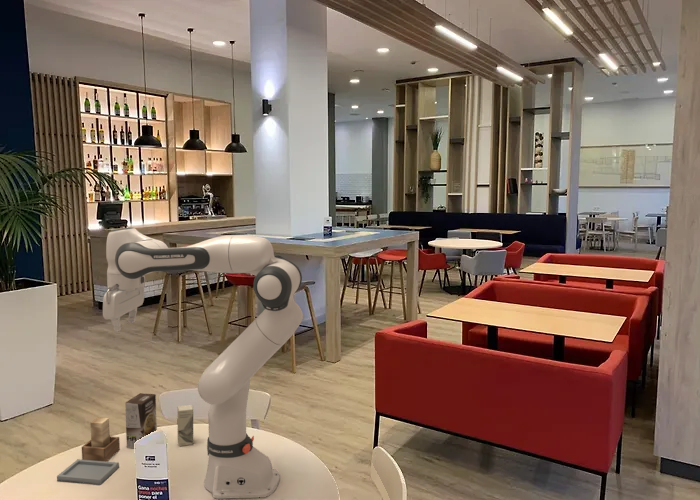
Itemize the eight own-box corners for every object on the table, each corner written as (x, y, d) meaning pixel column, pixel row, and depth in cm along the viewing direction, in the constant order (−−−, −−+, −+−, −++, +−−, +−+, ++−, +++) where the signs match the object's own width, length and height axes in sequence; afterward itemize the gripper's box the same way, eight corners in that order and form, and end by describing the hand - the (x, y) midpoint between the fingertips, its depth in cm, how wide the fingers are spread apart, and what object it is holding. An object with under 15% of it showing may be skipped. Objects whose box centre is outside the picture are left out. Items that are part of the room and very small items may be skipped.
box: (178, 446, 183) (177, 411, 181) (177, 441, 187) (176, 406, 185) (194, 444, 185) (193, 408, 183) (193, 438, 189) (192, 403, 187)
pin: (110, 452, 179) (108, 418, 177) (103, 458, 175) (101, 423, 173) (99, 451, 179) (97, 417, 178) (92, 457, 175) (90, 422, 174)
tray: (118, 467, 169) (118, 462, 169) (100, 484, 160) (100, 479, 159) (77, 463, 171) (77, 459, 171) (57, 481, 161) (56, 476, 161)
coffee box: (143, 449, 181) (141, 404, 179) (126, 447, 182) (124, 402, 180) (158, 437, 190) (156, 393, 188) (141, 435, 191) (139, 392, 189)
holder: (119, 449, 181) (119, 437, 180) (105, 462, 173) (105, 448, 172) (97, 447, 182) (96, 435, 181) (82, 460, 174) (81, 447, 173)
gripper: (117, 288, 149) (119, 336, 151) (147, 276, 170) (148, 318, 171) (95, 288, 149) (97, 336, 151) (127, 275, 170) (129, 318, 171)
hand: (124, 326), depth 161 cm, fingers open, 8 cm apart
